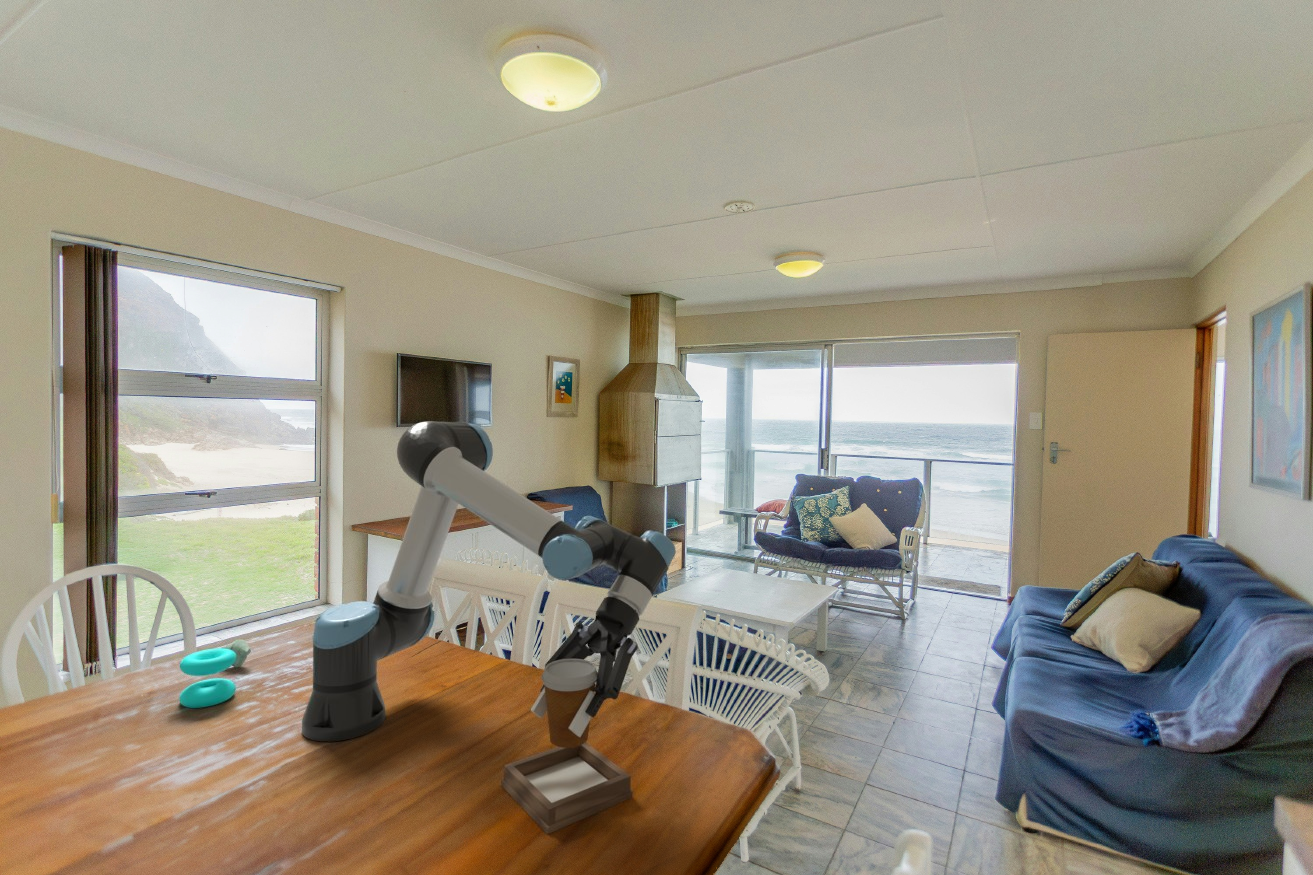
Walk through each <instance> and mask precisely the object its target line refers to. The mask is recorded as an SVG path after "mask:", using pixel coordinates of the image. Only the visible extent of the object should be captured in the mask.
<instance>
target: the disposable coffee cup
mask: <svg viewBox="0 0 1313 875" xmlns="http://www.w3.org/2000/svg"><path fill="white" fill-rule="evenodd" d="M597 675H598V670H597V667H596V664H594V662H592V661H590V660H587V659H584V660H583V659H562V660H557V661H554V662H551V663H549V664H548V665H546V667H545V666H544V669H543V672H542V674H541V681H542V683H543V684H542V685H544V686H545V695H546V705H547V711H546V713H547V714H546V716H547V721H548V722H547V723H548V724H547V725H548V732H549V742H550V743H551V745H554V746H556V747H562V748H572V747H577V746H580V745H582V744H584V743H585V742H586V743H587V741H588V739H589V731H590V724H591V720H590V721H589V723H588V724H587V726H586V728H585V730H584V732H583V733H582V735H581V737H578V736H577V735H576V734H574V733H573V732H572V731H571V730H570V729H569V726H570V724H571V723H572V721H573V719H574V717H575V716H576V714H577V712H578V710H579V709H580V707H581V705H582V703H583V702H584V700H585V698H586V696H587V695H588V693H589V691H592V692H594V693H595V691H594V690H593V688H594V687H596V681H597Z"/></svg>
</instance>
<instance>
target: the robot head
mask: <svg viewBox="0 0 1313 875" xmlns="http://www.w3.org/2000/svg"><path fill="white" fill-rule="evenodd" d="M221 648H224V649H230V650H232V651H234V652H235V654H236V660H235V662H234V664H233V665H232V666H231V667H234V668H236V669H237V668H240V667H242V665H244V663H245V662H246V660H247V658H248V655H250V653H251V652H252V651H251V648H250V647H249V643H248V642H247V641H246V640H245V639H242V638H241V639H240V638H239V639H236V640H234V641H233V642H231V643H229V644H227V645H224V646H222V647H221Z"/></svg>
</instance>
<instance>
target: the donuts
mask: <svg viewBox="0 0 1313 875" xmlns="http://www.w3.org/2000/svg"><path fill="white" fill-rule="evenodd" d="M235 660H236V654H235V652H234V651H232V650H230V649H224V648H222V647H220V648H208V649H203V650H198V651H195V652H193V653H191V654H188V655H187V656H185V657H184V658H182V660H181V662H180V663H179V669H180V671H181V672H182V673H183V674H185V675H186V676H188V675H189V676H192V677H193V676H194V677H204V676H209V675H215V674H218V673H221V672H223V671H225V670H228V669H229V668H230V667H233V666H232V665H233V664H234V662H235ZM235 693H236V684H235V683H234V682H233V681H232V680H229V679H227V678H222V677H220V678H218V677H217V678H209V679H204V680H200V681H197V682H194V683H192V684H190V685H188V686H187V687H186V688H184V689H182V691H181V692H180V695H179V699H178V701H179V703H180V704H181V705H182V706H183V707H186V708H192V709H199V708H200V709H201V708H206V707H211V706H215V705H218V704H221V703H224V702H226V701H228V700H229V699H231V698H232V697H233V696H234V694H235Z"/></svg>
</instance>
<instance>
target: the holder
mask: <svg viewBox="0 0 1313 875" xmlns="http://www.w3.org/2000/svg"><path fill="white" fill-rule="evenodd" d="M503 765H504V766H503V778H502V779H501V785H500V786H501V787H502V788H503V789H504V790H505V791H506V792H507V793H508V795H509V796H510V797H511V798H512V799H513V800H514V801H515V802H516V803H517V805H519V806H520V807H521V808H522V809H523V810H524V812H526V814H528V815H529V817H530V818H531V819H532V820H534V822H535V823H536V824H537V825H538V826H539V827H540V828H541V830H543V831H544V833H545V834H546V835H549V834H552V833H554V832H556V831H558V830H560V829H562V828H565V827H568V826H570V825H572V824H574V823H577V822H580V821H581V820H583V819H586V818H588V817H590V816H593V815H595V814H597V813H600V812H602V811H604V810H607V809H608V808H611V807H613V806H615V805H618V804H620V803H622V802H624V801H627V800H629V799H632V798H633V796H634V793H633V792H634V791H633V789H631V777H632V776H631V775H630V774H628V772H626V771H625V770H624V769H622V768H621V767H620V766H618V765H617V764H616V763H614V762H613V761H611V760H610V759H609V758H608V757H606V756H605V755H604V754H602V753H601V752H599V751H598V750H597V749H595V748H594V747H593V746H592V745H590V744H589V743H587V741H586V742H585V743H584V744H582V745H580V746H577V747H572V748H562V747H558V746H556V747H553V748H551V749H548V750H544V751H542V752H539V753H537V754H533V755H531V756H528V757H527V756H526V757H524V758H521V759H519V760H516V761H513V762H509V763H507V764H503Z"/></svg>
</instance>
